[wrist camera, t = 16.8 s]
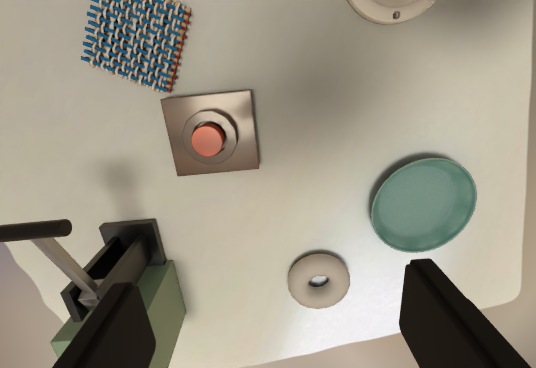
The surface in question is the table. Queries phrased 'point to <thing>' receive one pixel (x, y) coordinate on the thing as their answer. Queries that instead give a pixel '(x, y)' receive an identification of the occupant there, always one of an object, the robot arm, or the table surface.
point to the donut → (318, 267)
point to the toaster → (158, 309)
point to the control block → (218, 113)
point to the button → (208, 140)
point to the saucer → (424, 205)
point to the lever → (55, 253)
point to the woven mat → (138, 40)
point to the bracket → (118, 260)
